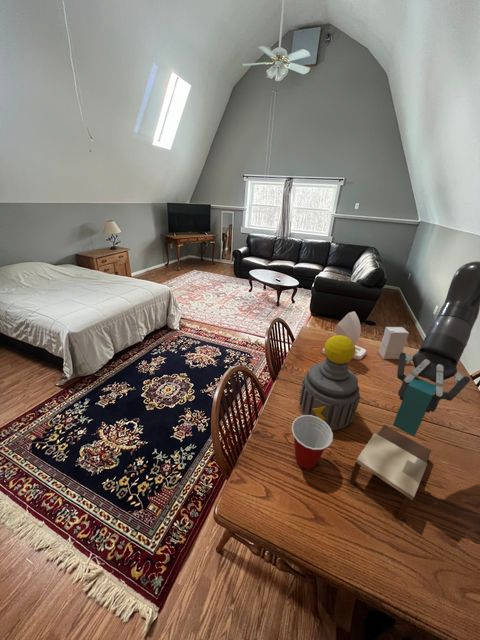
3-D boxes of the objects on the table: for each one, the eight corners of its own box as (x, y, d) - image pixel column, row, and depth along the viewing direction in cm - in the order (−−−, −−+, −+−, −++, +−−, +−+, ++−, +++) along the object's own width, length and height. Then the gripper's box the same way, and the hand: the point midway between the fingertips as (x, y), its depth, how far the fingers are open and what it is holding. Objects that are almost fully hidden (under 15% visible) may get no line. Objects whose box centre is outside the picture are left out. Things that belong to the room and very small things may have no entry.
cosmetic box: (394, 353, 133) (403, 326, 126) (400, 360, 127) (410, 332, 121) (377, 352, 133) (385, 325, 126) (383, 359, 127) (391, 331, 121)
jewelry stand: (338, 340, 143) (348, 296, 132) (368, 351, 133) (381, 305, 123) (315, 358, 126) (324, 309, 115) (347, 372, 116) (360, 320, 106)
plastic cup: (287, 475, 72) (292, 443, 67) (286, 442, 82) (291, 412, 77) (328, 481, 71) (337, 450, 66) (322, 447, 81) (329, 417, 76)
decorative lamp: (346, 442, 83) (370, 360, 70) (289, 415, 92) (302, 339, 79) (358, 406, 97) (380, 334, 85) (308, 386, 106) (321, 318, 94)
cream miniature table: (427, 458, 79) (438, 436, 75) (402, 520, 63) (414, 497, 59) (381, 432, 87) (389, 411, 83) (349, 482, 71) (356, 458, 67)
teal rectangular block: (419, 426, 64) (437, 385, 58) (414, 437, 61) (432, 395, 55) (398, 415, 66) (414, 376, 61) (392, 425, 63) (408, 384, 58)
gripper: (411, 322, 63) (379, 385, 61) (489, 346, 54) (455, 421, 52) (410, 335, 69) (381, 393, 66) (481, 358, 60) (450, 426, 57)
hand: (414, 405), depth 59 cm, fingers closed on teal rectangular block, 4 cm apart
